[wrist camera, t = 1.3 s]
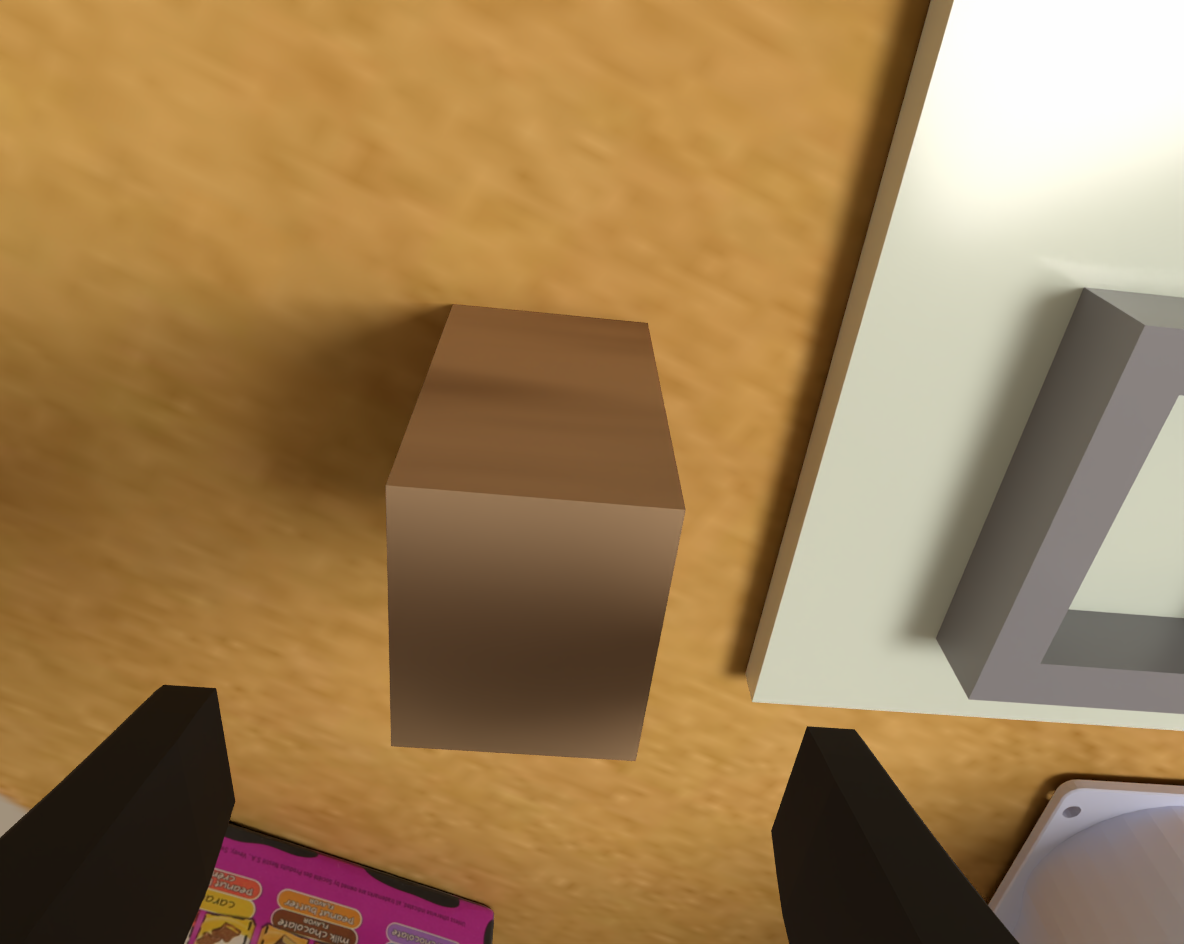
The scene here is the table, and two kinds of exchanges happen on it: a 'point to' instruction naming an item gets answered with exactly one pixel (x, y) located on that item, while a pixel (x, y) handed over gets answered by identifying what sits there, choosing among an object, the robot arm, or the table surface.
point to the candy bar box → (323, 901)
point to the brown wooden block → (531, 538)
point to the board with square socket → (1005, 391)
